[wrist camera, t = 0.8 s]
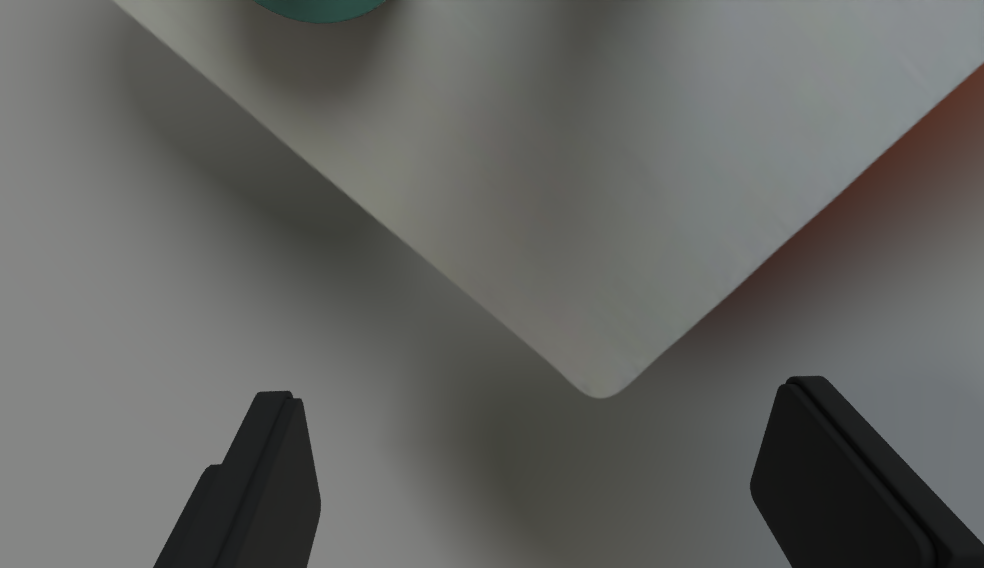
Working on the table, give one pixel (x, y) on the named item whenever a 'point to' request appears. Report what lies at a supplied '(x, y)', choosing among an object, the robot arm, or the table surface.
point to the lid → (320, 9)
